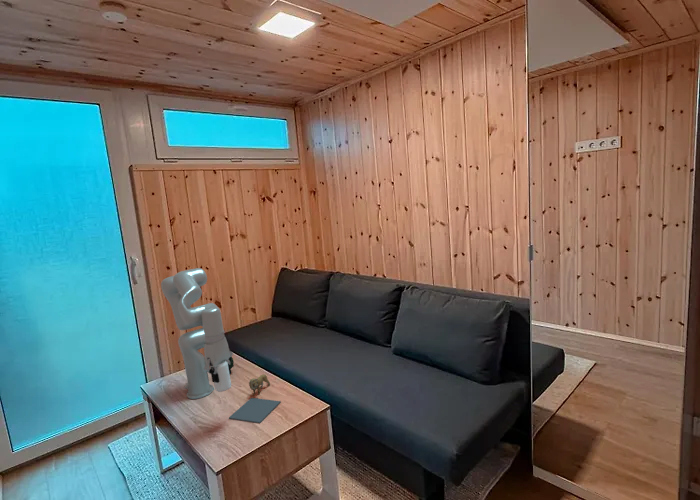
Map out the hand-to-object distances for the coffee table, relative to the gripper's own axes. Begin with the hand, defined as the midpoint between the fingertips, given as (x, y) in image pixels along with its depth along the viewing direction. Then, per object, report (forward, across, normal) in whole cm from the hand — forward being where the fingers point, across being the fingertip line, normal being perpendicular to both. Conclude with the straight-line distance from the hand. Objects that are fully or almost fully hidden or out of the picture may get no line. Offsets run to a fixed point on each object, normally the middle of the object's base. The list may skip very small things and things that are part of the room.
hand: (221, 377), depth 159 cm
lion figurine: (+20, -24, -1) cm, 31 cm away
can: (+5, 0, 0) cm, 5 cm away
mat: (+20, -9, +7) cm, 23 cm away
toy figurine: (+20, -38, -38) cm, 57 cm away
